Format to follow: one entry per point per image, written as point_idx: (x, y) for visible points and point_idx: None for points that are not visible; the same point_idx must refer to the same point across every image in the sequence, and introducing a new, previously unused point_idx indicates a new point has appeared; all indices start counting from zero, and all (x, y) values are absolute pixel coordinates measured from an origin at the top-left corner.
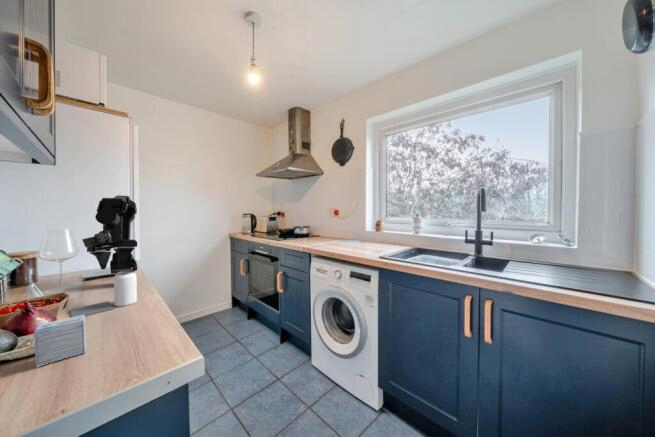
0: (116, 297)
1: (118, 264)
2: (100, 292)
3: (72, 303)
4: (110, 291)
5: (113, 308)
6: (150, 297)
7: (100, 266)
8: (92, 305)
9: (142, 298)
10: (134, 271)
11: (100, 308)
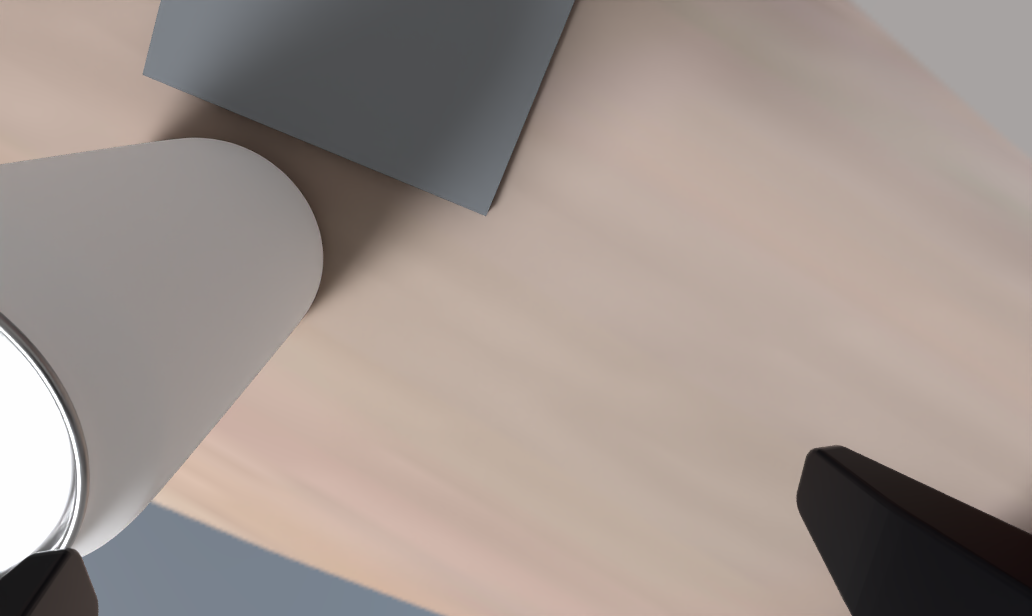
0: (134, 144)
1: (8, 606)
2: (938, 401)
3: (885, 51)
4: None
5: (143, 71)
6: None
7: (907, 482)
8: (506, 51)
9: None
10: None
11: (285, 10)
